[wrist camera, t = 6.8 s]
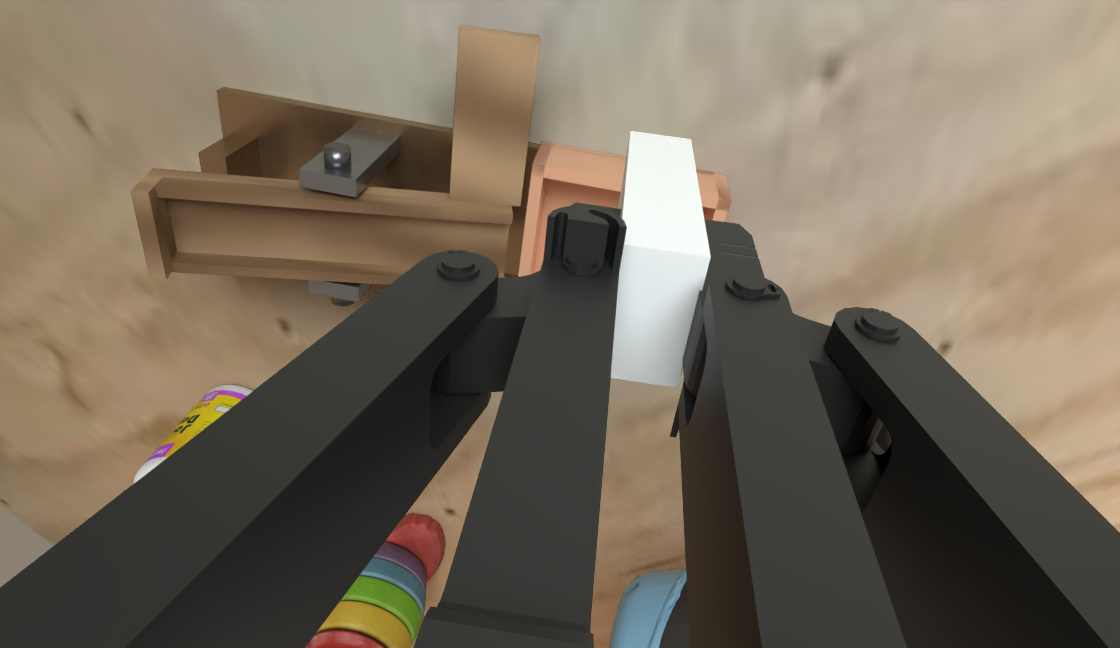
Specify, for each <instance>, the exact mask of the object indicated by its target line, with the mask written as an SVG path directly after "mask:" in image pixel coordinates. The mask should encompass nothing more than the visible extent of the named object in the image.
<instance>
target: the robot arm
mask: <svg viewBox="0 0 1120 648" xmlns="http://www.w3.org/2000/svg"><path fill="white" fill-rule="evenodd" d="M498 274H499V272H498V269H497V265H496V264H495V263H494V262H492V261H491V260H490V259H489V258H487V257H484V256H482V255H479V254H477V253H471V252H467V251H465V250H457V251H455V250H447V251H444V252H440V253H435V254H432V255H430V256H428V257H426V258H424V259H422V260H421V261H420V262H418V263H417V264H416V265H414V266H413V267H412V268H411V269H409V270H408V271H407V272H405V273H404V274H403V275H402V276H400V277H399V278H398V279H396V280H395V281H394V282H393V283H391V284H390V285H389V286H387V287H386V288H385V289H384V290H382V291H381V292H380V293H378V294H377V295H376V296H375V297H373V298H372V299H371V300H369V301H368V302H367V303H366V304H364V305H363V306H362V307H360V308H359V309H358V310H357V311H355V312H354V313H353V314H351V315H350V316H349V317H348V318H346V319H345V320H344V321H342V322H341V323H340V324H339V325H337V326H336V327H335V328H333V329H332V330H331V331H330V332H328V333H327V334H326V335H324V336H323V337H322V338H321V339H319V340H318V341H317V342H315V343H314V344H313V345H312V346H310V347H309V348H308V349H306V350H305V351H304V352H303V353H301V354H300V355H299V356H297V357H296V358H295V359H294V360H292V361H291V362H290V363H288V364H287V365H286V366H285V367H283V368H282V369H281V370H279V371H278V372H277V373H276V374H274V375H273V376H272V377H270V378H269V379H268V380H267V381H265V382H264V383H263V384H261V385H260V386H259V387H258V388H256V389H255V390H254V391H252V392H251V393H250V394H249V395H247V396H246V397H245V398H243V399H242V400H241V401H240V402H238V403H237V404H236V405H234V406H233V407H232V408H231V409H229V410H228V411H227V412H225V413H224V414H223V415H222V416H220V417H219V418H218V419H216V420H215V421H214V422H213V423H211V424H210V425H209V426H208V427H206V428H205V429H204V430H202V431H201V432H200V433H199V434H197V435H196V436H195V437H193V438H192V439H191V440H190V441H188V442H187V443H186V444H184V445H183V446H182V447H181V448H179V449H178V450H177V451H175V452H174V453H173V454H172V455H170V456H169V457H168V458H166V459H165V460H164V461H163V462H161V463H160V464H159V465H157V466H156V467H155V468H154V469H152V470H151V471H150V472H148V473H147V474H146V475H145V476H143V477H142V478H141V479H139V480H138V481H137V482H136V483H134V484H133V485H132V486H130V487H129V488H128V489H127V490H125V491H124V492H123V493H121V494H120V495H119V496H118V497H116V498H115V499H114V500H112V501H111V502H110V503H109V504H107V505H106V506H105V507H103V508H102V509H101V510H100V511H98V512H97V513H96V514H94V515H93V516H92V517H91V518H89V519H88V520H87V521H85V522H84V523H83V524H82V525H80V526H79V527H78V528H76V529H75V530H74V531H73V532H71V533H70V534H69V535H67V536H66V537H65V538H64V539H62V540H61V541H60V542H58V543H57V544H56V545H55V546H53V547H52V548H51V549H49V550H48V551H47V552H46V553H44V554H43V555H42V556H40V557H39V558H38V559H37V560H35V561H34V562H33V563H31V564H30V565H29V566H28V567H26V568H25V569H24V570H22V571H21V572H20V573H19V574H17V575H16V576H15V577H13V578H12V579H11V580H10V581H8V582H7V583H6V584H4V585H3V586H2V587H1V588H0V648H305V647H306V646H307V644H308V643H309V642H310V640H311V639H312V638H313V636H314V635H315V634H316V633H317V631H318V630H319V629H320V627H321V626H322V625H323V623H324V622H325V621H326V619H327V618H328V617H329V615H330V614H331V613H332V611H333V610H334V609H335V607H336V606H337V605H338V603H339V602H340V601H341V599H342V598H343V597H344V595H345V594H346V593H347V591H348V590H349V589H350V587H351V586H352V585H353V583H354V582H355V581H356V579H357V578H358V577H359V575H360V574H361V573H362V571H363V570H364V569H365V567H366V566H367V565H368V563H369V562H370V561H371V559H372V558H373V557H374V555H375V554H376V553H377V551H378V550H379V549H380V547H381V546H382V545H383V544H384V542H385V541H386V540H387V538H388V537H389V536H390V534H391V533H392V532H393V530H394V529H395V528H396V526H397V525H398V524H399V522H400V521H401V520H402V518H403V517H404V516H405V514H406V513H407V512H408V510H409V509H410V508H411V506H412V505H413V504H414V502H415V501H416V500H417V498H418V497H419V496H420V494H421V493H422V492H423V490H424V489H425V488H426V486H427V485H428V484H429V482H430V481H431V480H432V478H433V477H434V476H435V474H436V473H437V472H438V470H439V469H440V468H441V466H442V465H443V464H444V462H445V461H446V460H447V458H448V457H449V456H450V454H451V453H452V452H453V451H454V449H455V448H456V447H457V445H458V444H459V443H460V441H461V440H462V439H463V437H464V436H465V435H466V433H467V432H468V431H469V429H470V428H471V427H472V425H473V424H474V423H475V421H476V420H477V419H478V417H479V416H480V415H481V413H482V412H483V411H484V409H485V408H486V407H487V405H488V403H489V400H490V398H491V392H499V391H504V392H503V396H502V399H501V402H500V406H499V409H498V412H497V416H496V419H495V422H494V426H493V429H492V432H491V436H490V439H489V442H488V446H487V449H486V452H485V456H484V459H483V462H482V466H481V469H480V472H479V476H478V479H477V482H476V486H475V489H474V492H473V496H472V499H471V502H470V506H469V509H468V512H467V516H466V519H465V522H464V526H463V529H462V532H461V535H460V539H459V542H458V545H457V549H456V552H455V555H454V559H453V562H452V565H451V569H450V572H449V575H448V579H447V582H446V585H445V589H444V592H443V595H442V597H441V600H440V602H439V604H438V606H437V607H430V608H429V610H428V612H427V614H426V615H425V617H424V620H423V622H422V625H421V628H420V630H419V633H418V636H417V639H416V642H415V645H414V648H594V643H593V634H592V633H590V622H591V608H592V596H593V584H594V572H595V560H596V548H597V536H598V523H599V511H600V499H601V487H602V475H603V463H604V451H605V439H606V427H607V415H608V403H609V390H610V378H615V379H622V380H628V381H634V382H641V383H647V384H654V385H660V386H667V387H673V388H678V384H679V381H680V377H681V373H682V369H683V371H684V383H683V387H682V391H681V395H680V399H679V403H678V407H677V411H676V414H675V418H674V422H673V426H672V430H671V434H670V437H676V436H677V433H678V430H679V432H680V453H681V474H682V494H683V515H684V535H685V556H686V568H683V569H674V570H665V571H656V572H648V573H644V574H642V575H640V576H638V577H636V578H635V579H634V580H633V581H632V582H631V583H630V584H629V585H628V587H627V588H626V590H625V591H624V593H623V596H622V598H621V601H620V603H619V605H618V609H617V612H616V616H615V620H614V624H613V629H612V635H611V641H610V647H609V648H1120V533H1119V532H1118V531H1117V530H1116V529H1115V528H1114V527H1113V526H1112V525H1111V524H1110V523H1109V522H1108V521H1107V520H1106V519H1105V518H1104V517H1103V516H1102V515H1101V514H1100V513H1099V512H1098V511H1097V510H1096V509H1095V508H1094V507H1093V506H1092V505H1091V504H1090V503H1089V502H1088V501H1087V500H1086V499H1085V498H1084V497H1083V496H1082V495H1081V494H1080V493H1079V492H1078V491H1077V490H1076V489H1075V488H1074V487H1073V486H1072V485H1071V484H1070V483H1069V482H1068V481H1067V480H1066V479H1065V478H1064V477H1063V476H1062V475H1061V474H1060V473H1059V472H1058V471H1057V470H1056V469H1055V468H1054V467H1053V466H1052V465H1051V464H1050V463H1049V462H1048V461H1047V460H1046V459H1045V458H1044V457H1043V456H1042V455H1041V454H1040V453H1039V452H1038V451H1037V450H1036V449H1034V448H1033V447H1032V446H1031V445H1030V444H1029V443H1028V442H1027V441H1026V440H1025V439H1024V438H1023V437H1022V436H1021V435H1020V434H1019V433H1018V432H1017V431H1016V430H1015V429H1014V428H1013V427H1012V426H1011V425H1010V424H1009V423H1008V422H1007V421H1006V420H1005V419H1004V418H1003V417H1002V416H1001V415H1000V414H999V413H998V412H997V411H996V410H995V409H994V408H993V407H992V406H991V405H990V404H989V403H988V402H987V401H986V400H985V399H984V398H983V397H982V396H981V395H980V394H979V393H978V392H977V391H976V390H975V389H974V388H973V387H972V386H971V385H970V384H969V383H968V382H967V381H966V380H965V379H964V378H963V377H962V376H961V375H960V374H959V373H958V372H957V371H956V370H955V369H954V368H953V367H952V366H951V365H950V364H949V363H948V362H947V361H946V360H945V359H944V358H943V357H942V356H941V355H940V354H938V353H937V352H936V351H935V350H934V349H933V348H932V347H931V346H930V345H929V344H928V343H927V342H926V341H925V340H924V339H923V338H922V337H921V336H920V335H919V334H918V333H917V332H916V331H915V330H914V329H913V328H911V327H910V326H909V325H907V324H906V323H905V322H904V321H902V320H900V319H897V318H895V317H893V316H892V315H891V314H890V313H887V312H884V311H881V312H880V311H879V310H878V309H873V308H868V309H867V308H859V307H854V308H844V309H843V310H841V311H839V312H837V313H836V315H835V318H834V321H833V323H832V326H827V325H824V324H821V323H818V322H815V321H811V320H808V319H806V318H803V317H800V316H798V315H795V314H794V313H793V312H792V309H791V307H790V304H789V301H788V298H787V295H786V294H785V292H784V291H783V290H782V288H781V287H779V286H778V285H776V284H775V283H773V282H772V281H770V280H768V279H765V278H764V274H763V271H762V268H761V265H760V261H759V259H758V255H757V251H756V249H755V245H754V241H753V238H752V235H751V234H749V233H748V232H747V231H746V230H745V229H744V228H743V227H742V226H741V225H739V224H735V223H728V222H721V221H714V220H707V219H704V214H703V208H702V203H701V197H700V191H699V185H698V179H697V173H696V167H695V161H694V155H693V149H692V143H691V139H685V138H677V137H670V136H663V135H656V134H649V133H641V132H634V131H630V137H629V143H628V150H627V156H626V162H625V168H624V174H623V181H622V187H621V193H620V199H619V205H618V208H611V207H604V206H597V205H590V204H583V203H576V202H575V203H574V204H572V205H571V206H567V207H561V208H558V209H555V210H553V211H552V212H551V213H550V214H549V215H548V218H547V228H546V238H545V247H544V257H543V263H542V266H541V269H540V271H538V272H536V273H533V274H530V275H526V276H521V277H504V278H498Z"/></svg>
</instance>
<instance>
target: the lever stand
mask: <svg viewBox="0 0 1120 648" xmlns="http://www.w3.org/2000/svg"><path fill="white" fill-rule="evenodd" d="M217 95H218V102H219V110H220V117H221V124H222V132H223V139H221V140H219V141H218V142H216V143H214V144H212V145H211V146H209V147H207V148H206V149H204V150H202V151H200V152H199V159H200V165H201V172H203V173H214V174H226V175H238V176H250V177H262V178H273V179H285V180H297V181H300V185H301V187H302V188H308V189H313V190H319V191H324V192H330V193H335V194H341V195H346V196H352V197H357V196H358V195H359V194H360V193H361V192H362V191H363V190H364V189H365V188H366V187H367V186H368V187H380V188H392V189H404V190H415V191H427V192H439V193H450V178H451V160H452V143H453V129H452V128H446V127H441V126H435V125H430V124H424V123H418V122H413V121H407V120H402V119H396V118H391V117H385V116H380V115H374V114H369V113H363V112H358V111H352V110H347V109H341V108H336V107H330V106H325V105H319V104H314V103H308V102H303V101H297V100H292V99H286V98H281V97H275V96H269V95H264V94H258V93H253V92H247V91H242V90H236V89H231V88H225V87H223V88H221V89H219V90H217ZM539 148H540V144H534V143H529V142H528V148H527V156H526V165H525V173H524V181H523V189H522V198H521V206H512V211H513V220H512V225H509V234H508V243H507V252H506V260H505V269H504V273H507V274H512V275H517V276H518V274H519V266H520V258H521V250H522V243H523V235H524V227H525V219H526V211H527V203H528V196H529V188H530V180H531V172H532V164H533V162H534V159H535V157H536V155H537V152H538V150H539ZM370 286H371V284H367V283H350V282H333V281H316V280H308V293H312V294H317V295H323V296H328V297H331V301H332V303H333V304H335V305H338V306H348V305H351V304H353V303H354V302H359V301H360V300H361V298H362V297H363V296H364V294H365V293H366V291H367V290H368V289H369V287H370Z"/></svg>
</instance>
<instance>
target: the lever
mask: <svg viewBox="0 0 1120 648" xmlns="http://www.w3.org/2000/svg"><path fill="white" fill-rule="evenodd" d="M540 41H541V39H540V37H539V35H531V34H524V33H516V32H508V31H501V30H493V29H485V28H477V27H470V26H462V25H459V38H458V56H457V73H456V90H455V108H454V125H453V143H452V160H451V178H450V193H439V192H427V191H415V190H404V189H392V188H380V187H368V186H367V187H366V188H365V189H364V190H363V191H362V192H361V193H360V194H359V195H358V196H357V197H352V196H346V195H341V194H335V193H330V192H324V191H319V190H313V189H308V188H302V187H301V185H300V181H297V180H285V179H273V178H262V177H250V176H238V175H226V174H214V173H203V172H191V171H179V170H167V169H155V168H153V169H152V170H151V171H150V172H149V173H148V174H147V175H146V176H145V177H144V178H143V179H142V180H141V181H140V182H139V183H138V184H137V185H136V186H135V187H134V188H133V189H132V190H131V191H130V192H131V196H132V201H133V205H134V210H135V214H136V219H137V223H138V227H139V232H140V236H141V241H142V245H143V250H144V254H145V259H146V263H147V267H148V272H149V276H150V279H167V278H168V276H169V275H170V274H171V272H180V273H197V274H214V275H231V276H248V277H265V278H282V279H299V280H316V281H333V282H350V283H367V284H384V285H390V284H391V283H393V282H394V281H395V280H396V279H398V278H399V277H400V276H402V275H403V274H404V273H405V272H407V271H408V270H409V269H411V268H412V267H413V266H414V265H416V264H417V263H418V262H420V261H421V260H422V259H424V258H426V257H428V256H430V255H432V254H435V253H440V252H444V251H447V250H455V251H457V250H465V251H467V252H471V253H477V254H479V255H482V256H484V257H487V258H489V259H490V260H491V261H492V262H494V263H495V264H496V265H497V269H498V272H499V274H498V278H504V277H505V276H504V269H505V260H506V252H507V243H508V234H509V225H512V220H513V211H512V206H521V198H522V189H523V181H524V173H525V165H526V156H527V148H528V140H529V132H530V124H531V115H532V107H533V99H534V91H535V82H536V74H537V66H538V58H539V49H540Z"/></svg>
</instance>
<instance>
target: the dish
mask: <svg viewBox="0 0 1120 648" xmlns="http://www.w3.org/2000/svg"><path fill="white" fill-rule="evenodd" d="M625 162H626V157H624V156H618V155H613V154H607V153H602V152H596V151H591V150H585V149H580V148H574V147H569V146H563V145H558V144H552V143H547V142H542V143H541V145H540V148H539V150H538V152H537V155H536V157H535V159H534V162H533V164H532V172H531V180H530V188H529V196H528V203H527V211H526V219H525V227H524V235H523V243H522V250H521V258H520V266H519V274H518V277H521V276H526V275H530V274H533V273H536V272H538V271H540V269H541V266H542V263H543V257H544V247H545V238H546V228H547V218H548V215H549V214H550V213H551V212H552V211H553V210H555V209H558V208H561V207H567V206H571V205H572V204H574V203H575V202H576V203H583V204H590V205H597V206H604V207H611V208H618V205H619V199H620V193H621V187H622V181H623V174H624V168H625ZM696 173H697V179H698V185H699V191H700V197H701V203H702V208H703V214H704V219H707V220H714V221H721V222H725V219H726V215H727V212H728V209H729V206H730V203H731V197H730V193H729V189H728V185H727V182H726V178H725V175H723V174H718V173H712V172H707V171H701V170H696Z"/></svg>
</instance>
